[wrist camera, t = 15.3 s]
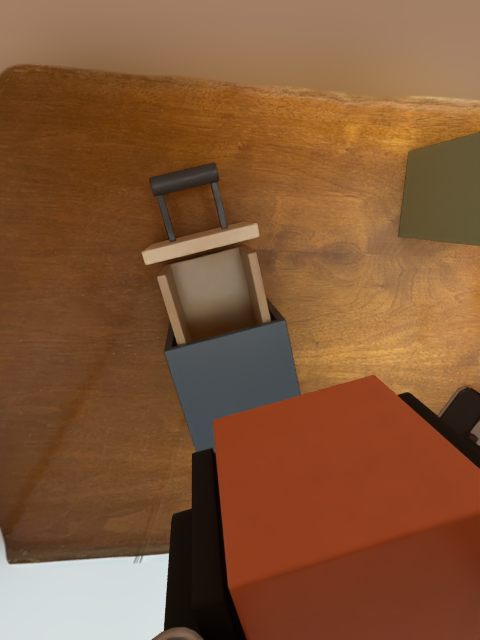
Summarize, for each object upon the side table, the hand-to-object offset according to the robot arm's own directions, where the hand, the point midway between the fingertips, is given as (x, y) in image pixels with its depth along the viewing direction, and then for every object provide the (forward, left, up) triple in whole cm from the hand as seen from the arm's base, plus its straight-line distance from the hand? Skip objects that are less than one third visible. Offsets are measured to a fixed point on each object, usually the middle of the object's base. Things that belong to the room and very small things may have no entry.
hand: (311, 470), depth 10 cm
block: (0, 0, 0) cm, 0 cm away
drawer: (-1, -2, -32) cm, 32 cm away
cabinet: (+11, +1, -32) cm, 34 cm away
